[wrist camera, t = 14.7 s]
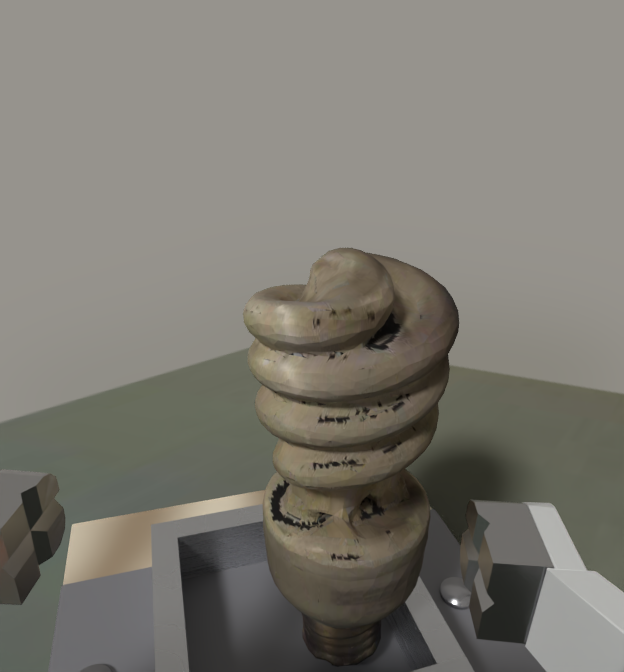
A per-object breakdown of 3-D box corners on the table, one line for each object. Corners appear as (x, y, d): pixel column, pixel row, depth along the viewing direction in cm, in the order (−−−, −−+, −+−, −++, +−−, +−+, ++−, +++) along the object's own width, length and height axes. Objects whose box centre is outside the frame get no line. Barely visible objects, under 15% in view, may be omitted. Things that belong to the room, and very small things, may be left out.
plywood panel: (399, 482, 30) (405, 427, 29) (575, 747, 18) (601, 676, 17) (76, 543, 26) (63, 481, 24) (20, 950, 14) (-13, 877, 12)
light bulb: (304, 768, 16) (316, 303, 10) (230, 626, 20) (207, 237, 14) (441, 674, 19) (518, 262, 13) (351, 566, 23) (376, 218, 17)
